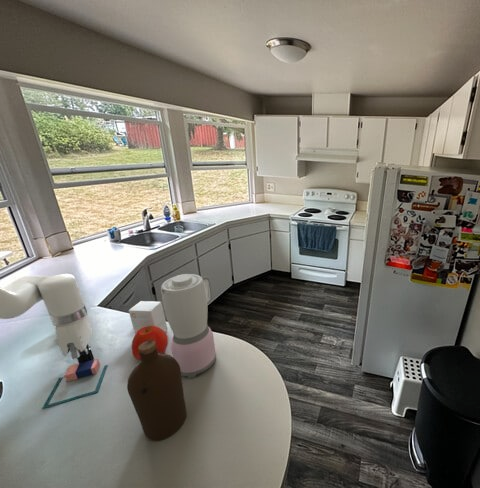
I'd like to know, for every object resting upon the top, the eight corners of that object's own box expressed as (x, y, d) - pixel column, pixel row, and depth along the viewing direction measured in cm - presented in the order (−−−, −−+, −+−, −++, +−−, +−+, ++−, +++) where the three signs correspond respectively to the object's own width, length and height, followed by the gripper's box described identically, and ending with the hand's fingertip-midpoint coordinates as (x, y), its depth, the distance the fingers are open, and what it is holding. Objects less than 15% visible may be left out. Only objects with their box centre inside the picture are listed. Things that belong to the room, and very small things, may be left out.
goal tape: (42, 409, 67) (41, 408, 67) (59, 378, 76) (59, 378, 76) (97, 392, 72) (97, 391, 72) (107, 365, 81) (107, 365, 81)
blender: (195, 384, 76) (177, 292, 65) (166, 371, 80) (145, 283, 69) (231, 349, 90) (222, 269, 79) (205, 340, 94) (193, 262, 83)
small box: (168, 329, 98) (161, 301, 94) (157, 341, 92) (150, 311, 88) (147, 329, 98) (140, 300, 94) (135, 340, 92) (127, 310, 88)
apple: (172, 340, 93) (167, 317, 89) (165, 361, 84) (159, 335, 80) (140, 346, 90) (133, 321, 86) (129, 368, 80) (121, 342, 77)
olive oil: (194, 423, 65) (179, 346, 56) (146, 454, 58) (120, 372, 50) (182, 395, 72) (167, 324, 64) (138, 420, 65) (114, 343, 57)
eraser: (66, 382, 75) (63, 375, 74) (71, 372, 78) (69, 365, 77) (96, 373, 78) (94, 367, 77) (100, 364, 81) (98, 358, 80)
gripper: (62, 304, 79) (79, 350, 85) (40, 333, 67) (62, 384, 73) (93, 299, 83) (107, 343, 89) (77, 325, 70) (95, 375, 76)
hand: (87, 362), depth 81 cm, fingers closed
